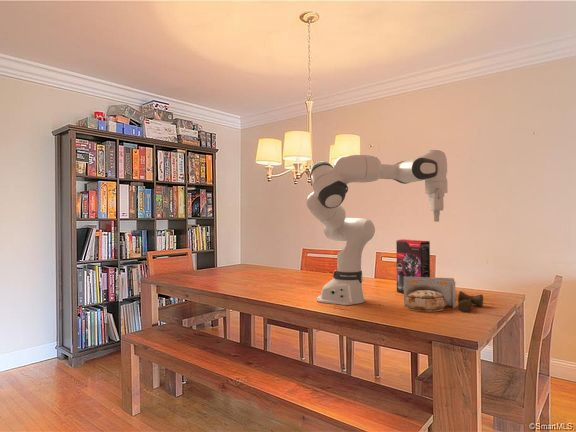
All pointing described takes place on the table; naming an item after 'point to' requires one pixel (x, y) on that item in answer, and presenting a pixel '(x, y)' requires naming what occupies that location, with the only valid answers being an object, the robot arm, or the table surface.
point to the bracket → (431, 287)
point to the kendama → (468, 301)
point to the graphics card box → (412, 260)
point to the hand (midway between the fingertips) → (436, 221)
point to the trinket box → (425, 301)
